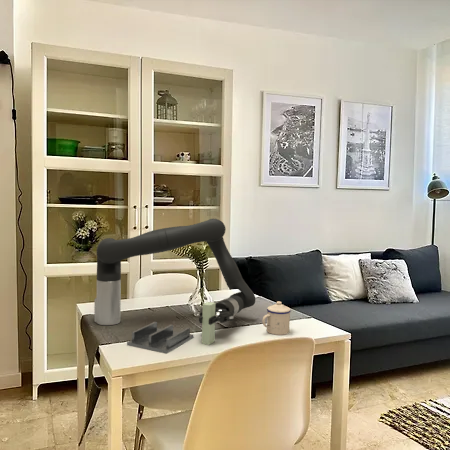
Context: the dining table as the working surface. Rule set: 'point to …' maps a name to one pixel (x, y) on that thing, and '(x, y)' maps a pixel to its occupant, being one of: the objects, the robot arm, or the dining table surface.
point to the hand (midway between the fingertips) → (205, 321)
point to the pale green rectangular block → (207, 329)
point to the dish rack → (159, 338)
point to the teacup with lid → (277, 319)
